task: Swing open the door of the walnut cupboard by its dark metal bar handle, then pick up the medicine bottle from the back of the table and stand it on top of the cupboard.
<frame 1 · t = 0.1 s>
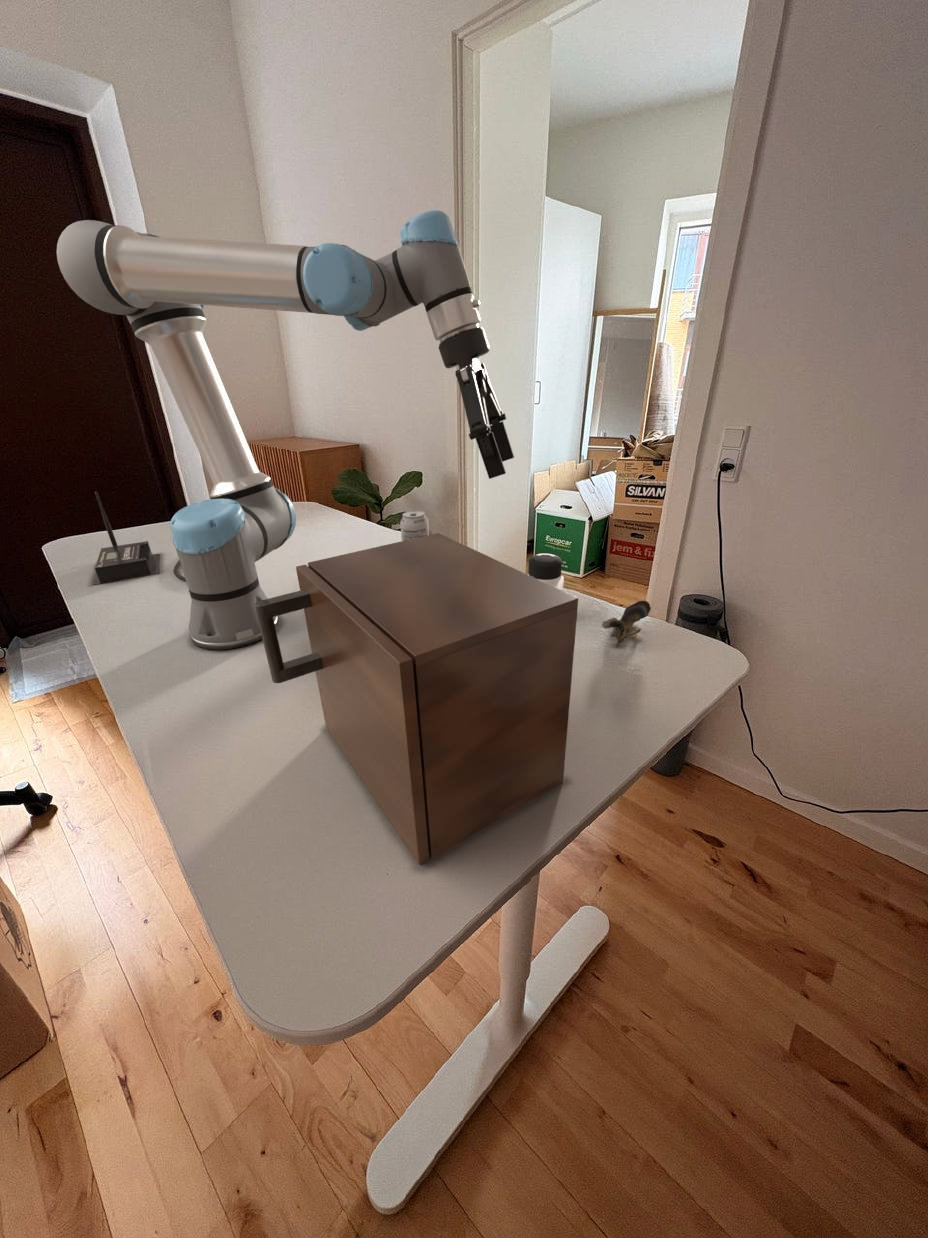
hand: (502, 467, 88), 28 cm above the table, tool tilted 20°, fingers open, 13 cm apart
medicine bottle: (542, 616, 99), on the table
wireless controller: (128, 566, 129), on the table
cupboard: (440, 751, 66), on the table
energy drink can: (418, 579, 117), on the table
cupboard door: (332, 712, 54), point 12 cm above the table, hinge at 0.0°
grey-brown animal figure: (625, 638, 91), on the table
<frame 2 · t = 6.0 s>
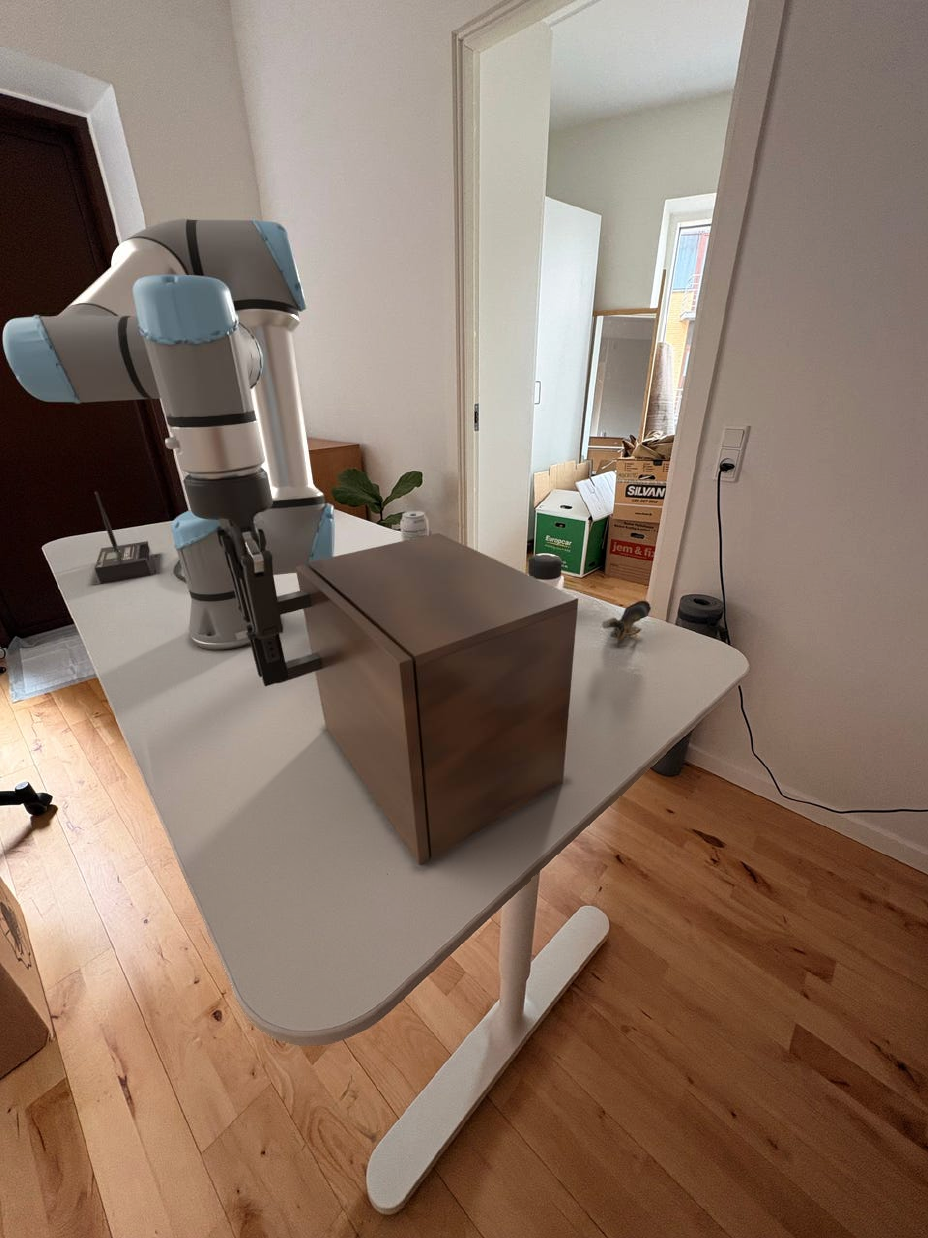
hand: (273, 676, 60), 12 cm above the table, tool pointing down, fingers closed on cupboard door, 2 cm apart
cupboard door: (332, 712, 54), point 12 cm above the table, hinge at 0.1°, touching gripper
everything else where it was.
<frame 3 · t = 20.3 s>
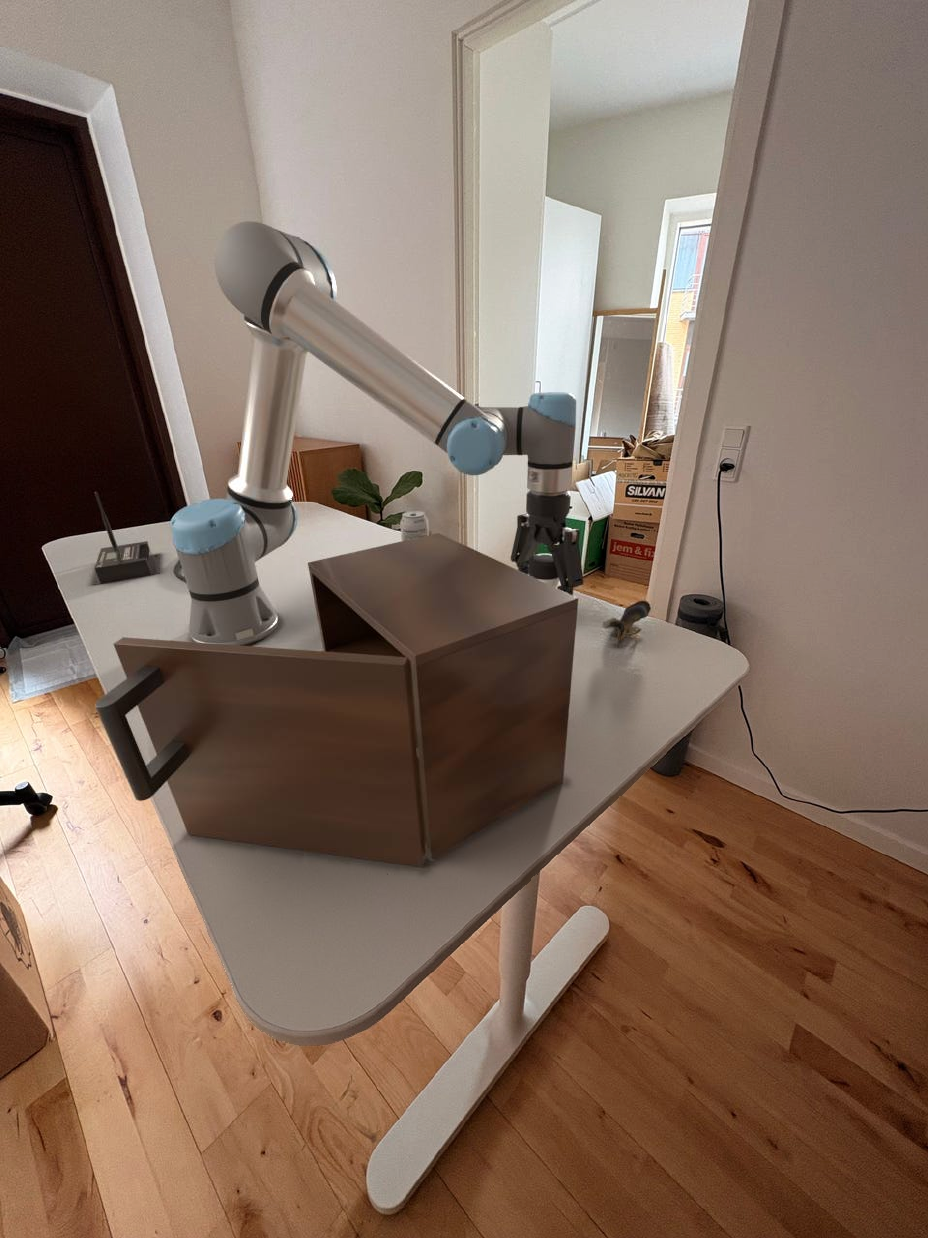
hand: (542, 607, 98), 2 cm above the table, tool pointing down, fingers closed on medicine bottle, 10 cm apart
medicine bottle: (542, 616, 99), on the table, touching gripper
cupboard door: (266, 781, 46), point 12 cm above the table, hinge at 46.2°
everything else where it was.
when the fingers open (26 cm above the table, at t = 30.1 s): medicine bottle stays where it is, resting on cupboard.
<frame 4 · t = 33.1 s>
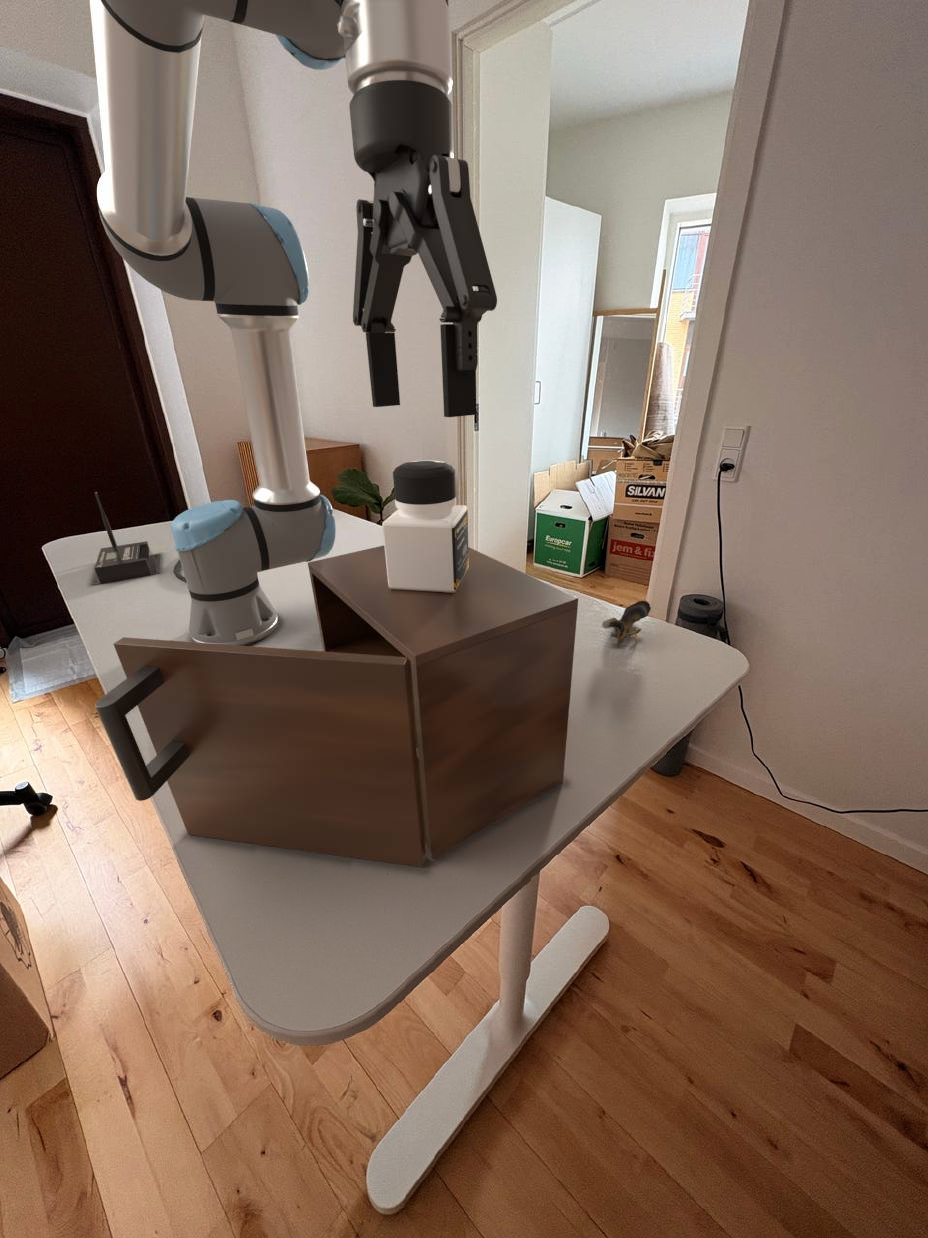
hand: (419, 410, 47), 41 cm above the table, tool pointing down, fingers open, 13 cm apart
medicine bottle: (430, 580, 55), point 24 cm above the table, touching cupboard
everything else where it was.
at the end: cupboard door at +46° (first picture: +0°); medicine bottle inside the target area on the cupboard (0.0 cm from its centre), point 23.8 cm above the cupboard's base; medicine bottle tilted 0° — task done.
